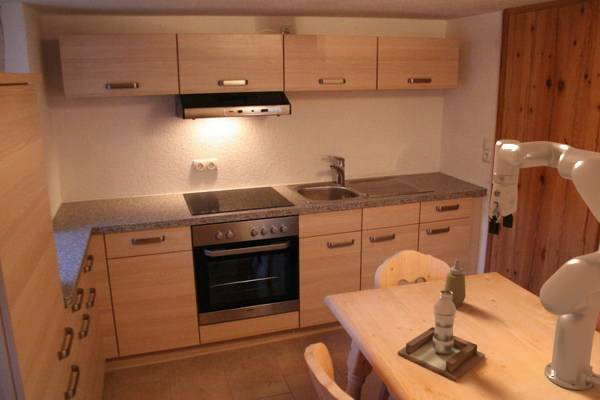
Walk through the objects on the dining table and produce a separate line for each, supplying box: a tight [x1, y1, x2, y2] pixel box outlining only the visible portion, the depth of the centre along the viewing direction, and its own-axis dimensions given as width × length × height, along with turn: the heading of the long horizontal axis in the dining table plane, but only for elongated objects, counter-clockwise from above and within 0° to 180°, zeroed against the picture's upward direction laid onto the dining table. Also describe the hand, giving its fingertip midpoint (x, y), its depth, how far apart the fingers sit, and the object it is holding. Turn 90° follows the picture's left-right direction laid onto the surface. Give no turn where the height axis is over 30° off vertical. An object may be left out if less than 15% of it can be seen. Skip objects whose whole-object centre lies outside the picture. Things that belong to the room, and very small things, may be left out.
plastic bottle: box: [432, 289, 457, 354], centre depth 153 cm, size 6×7×20 cm
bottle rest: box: [397, 326, 486, 382], centre depth 155 cm, size 20×18×4 cm
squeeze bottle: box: [444, 258, 467, 308], centre depth 188 cm, size 8×8×18 cm
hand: (500, 230), depth 161 cm, fingers open, 9 cm apart
